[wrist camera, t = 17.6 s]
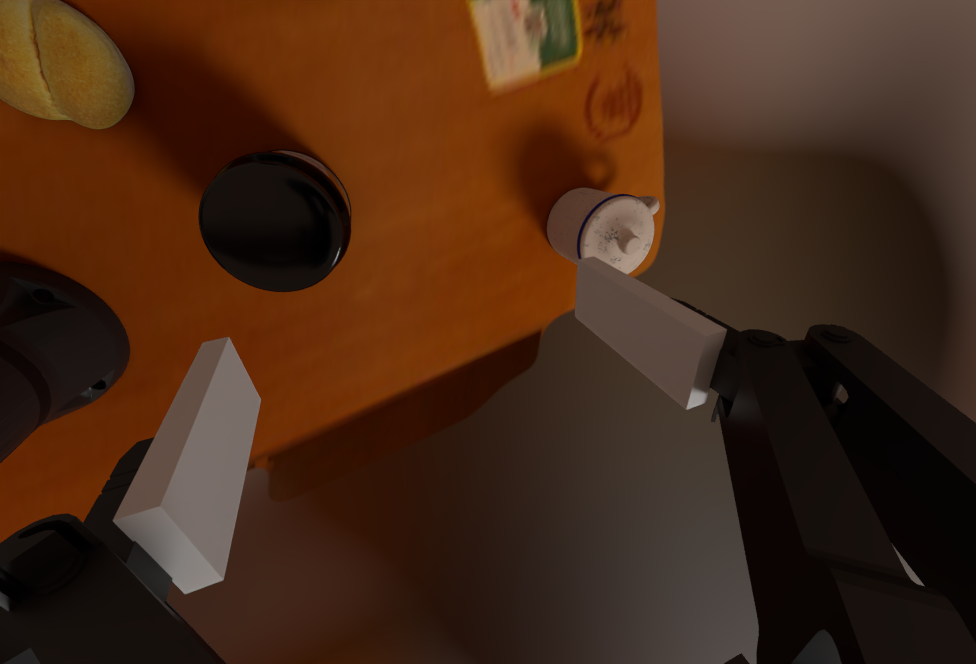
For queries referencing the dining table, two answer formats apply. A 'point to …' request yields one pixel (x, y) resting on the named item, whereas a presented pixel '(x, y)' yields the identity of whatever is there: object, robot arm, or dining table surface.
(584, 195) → the teacup with lid
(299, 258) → the supplement container
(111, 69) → the bread roll
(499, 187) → the dining table surface
